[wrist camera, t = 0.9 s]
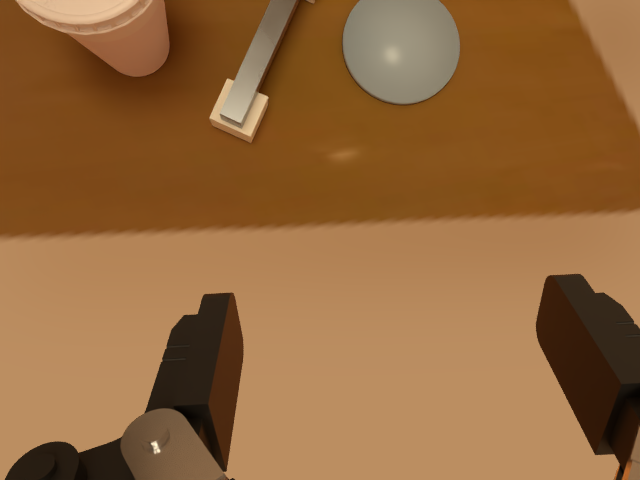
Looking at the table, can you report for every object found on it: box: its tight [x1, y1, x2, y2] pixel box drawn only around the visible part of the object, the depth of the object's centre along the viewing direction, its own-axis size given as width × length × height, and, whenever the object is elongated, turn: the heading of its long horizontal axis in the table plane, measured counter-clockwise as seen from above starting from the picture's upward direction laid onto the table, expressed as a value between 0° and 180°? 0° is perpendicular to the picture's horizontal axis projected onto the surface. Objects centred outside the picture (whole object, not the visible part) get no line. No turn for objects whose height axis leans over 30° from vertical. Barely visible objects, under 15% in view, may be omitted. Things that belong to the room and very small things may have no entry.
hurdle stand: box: [209, 0, 315, 143], centre depth 30 cm, size 11×2×2 cm, turn 157°
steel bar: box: [219, 0, 300, 129], centre depth 28 cm, size 11×1×1 cm, turn 157°
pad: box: [342, 0, 460, 105], centre depth 31 cm, size 7×7×1 cm
